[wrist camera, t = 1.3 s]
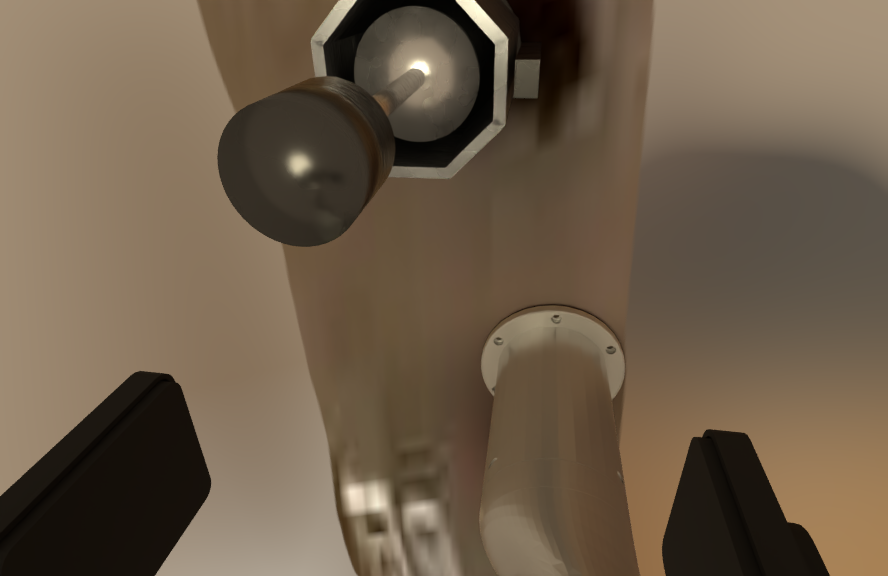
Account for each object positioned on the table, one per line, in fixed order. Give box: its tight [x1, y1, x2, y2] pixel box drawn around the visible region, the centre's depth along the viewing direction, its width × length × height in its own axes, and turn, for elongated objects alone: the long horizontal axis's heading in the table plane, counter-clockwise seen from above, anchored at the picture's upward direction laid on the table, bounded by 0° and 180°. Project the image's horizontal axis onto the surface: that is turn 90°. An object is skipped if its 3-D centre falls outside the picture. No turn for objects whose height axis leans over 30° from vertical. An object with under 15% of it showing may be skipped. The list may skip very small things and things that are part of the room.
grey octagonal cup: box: [311, 0, 541, 179], centre depth 32 cm, size 10×11×12 cm
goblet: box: [218, 6, 480, 247], centre depth 21 cm, size 7×7×17 cm
